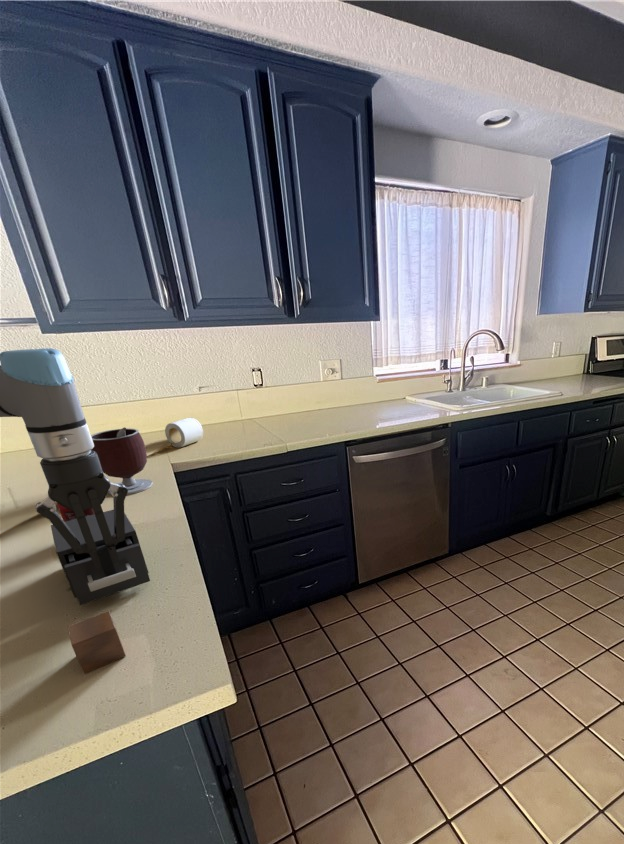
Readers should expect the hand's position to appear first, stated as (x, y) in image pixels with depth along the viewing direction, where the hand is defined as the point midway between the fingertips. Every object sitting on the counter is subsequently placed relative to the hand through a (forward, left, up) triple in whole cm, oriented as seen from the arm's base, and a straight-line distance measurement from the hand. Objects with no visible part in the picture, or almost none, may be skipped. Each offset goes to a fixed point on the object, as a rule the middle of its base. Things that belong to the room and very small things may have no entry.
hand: (113, 580), depth 77 cm
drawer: (-4, +4, -4) cm, 7 cm away
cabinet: (-10, +10, -5) cm, 15 cm away
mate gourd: (-34, +56, -5) cm, 65 cm away
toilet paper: (-41, +105, -5) cm, 113 cm away
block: (+6, -14, -5) cm, 16 cm away
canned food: (-24, +24, -5) cm, 35 cm away
